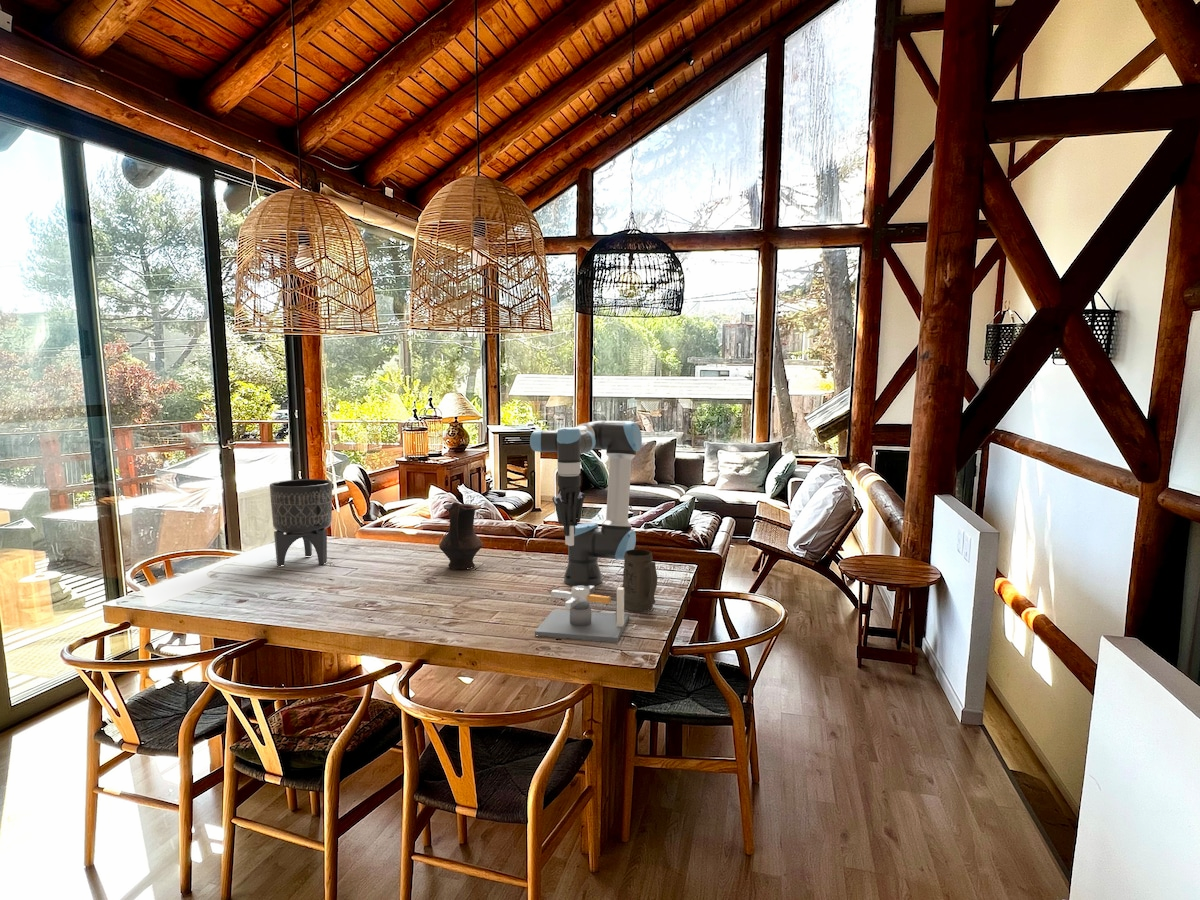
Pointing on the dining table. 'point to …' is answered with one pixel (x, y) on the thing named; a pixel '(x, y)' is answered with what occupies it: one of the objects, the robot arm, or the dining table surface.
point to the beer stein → (639, 580)
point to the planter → (301, 515)
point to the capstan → (580, 597)
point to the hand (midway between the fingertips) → (569, 544)
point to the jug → (461, 536)
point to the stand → (586, 623)
